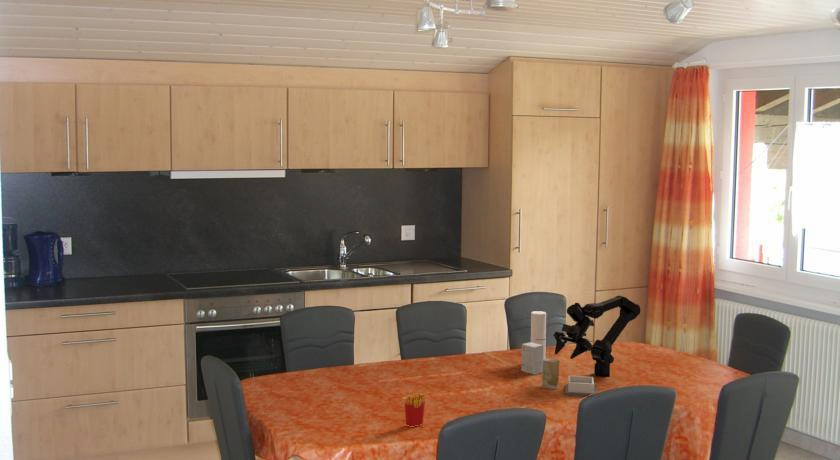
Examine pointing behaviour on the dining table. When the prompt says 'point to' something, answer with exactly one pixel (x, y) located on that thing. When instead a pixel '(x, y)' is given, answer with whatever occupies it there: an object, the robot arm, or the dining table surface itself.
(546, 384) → the skincare box
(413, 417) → the french fries
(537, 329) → the cylindrical container
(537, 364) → the small box
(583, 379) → the holder
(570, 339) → the robot arm
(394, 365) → the dining table surface
